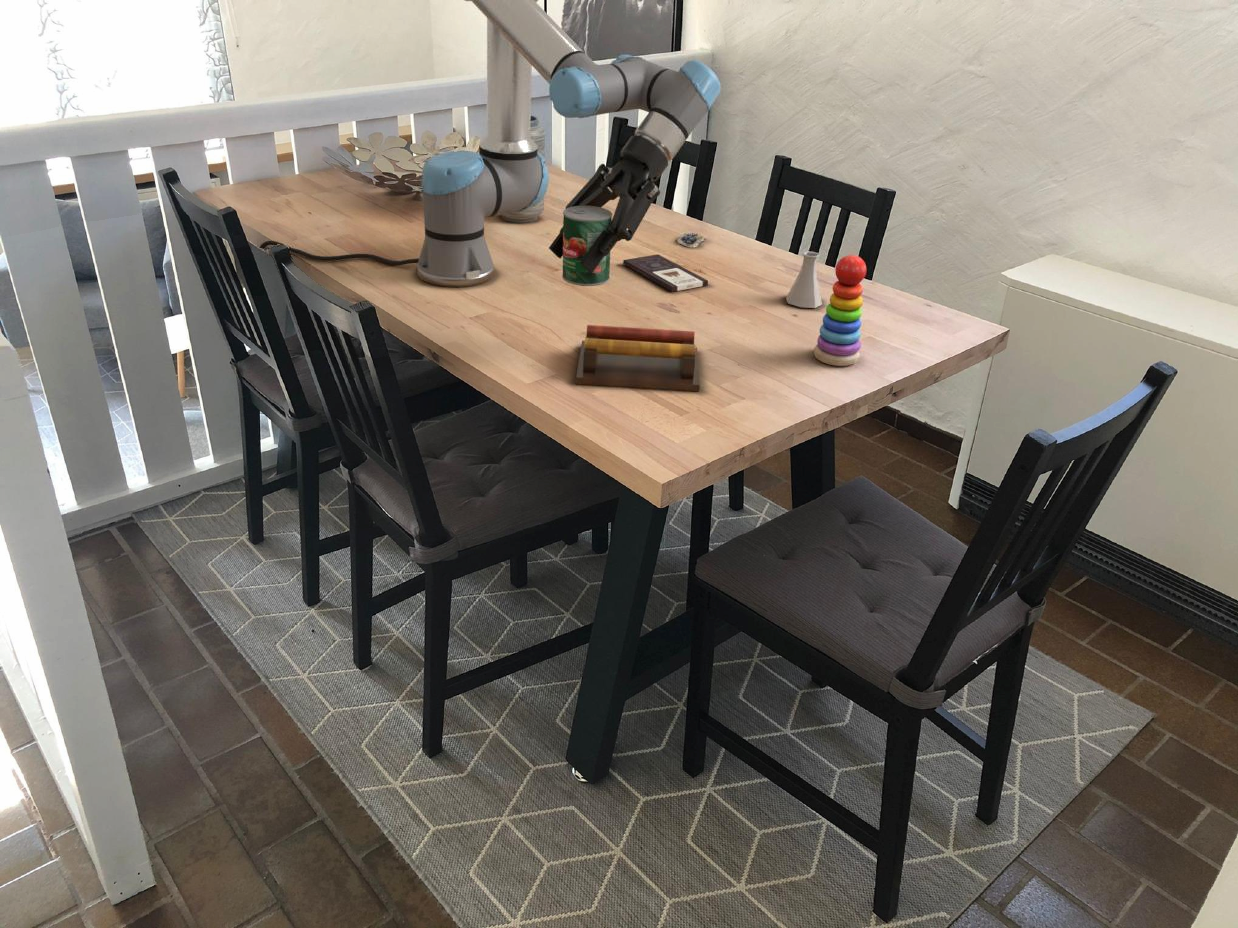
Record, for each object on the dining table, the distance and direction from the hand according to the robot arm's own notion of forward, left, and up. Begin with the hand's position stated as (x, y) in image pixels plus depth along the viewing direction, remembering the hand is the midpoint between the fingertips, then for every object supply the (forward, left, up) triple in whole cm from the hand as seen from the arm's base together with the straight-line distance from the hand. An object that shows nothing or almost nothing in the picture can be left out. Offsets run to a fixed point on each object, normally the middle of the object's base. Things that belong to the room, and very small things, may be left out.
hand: (569, 260), depth 160 cm
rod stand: (+13, -2, -17) cm, 21 cm away
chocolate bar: (+11, +45, -17) cm, 49 cm away
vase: (-28, +74, -17) cm, 81 cm away
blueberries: (+14, +69, -17) cm, 73 cm away
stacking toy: (+46, +12, -17) cm, 50 cm away
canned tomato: (+2, +3, -4) cm, 5 cm away
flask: (+40, +38, -17) cm, 58 cm away
